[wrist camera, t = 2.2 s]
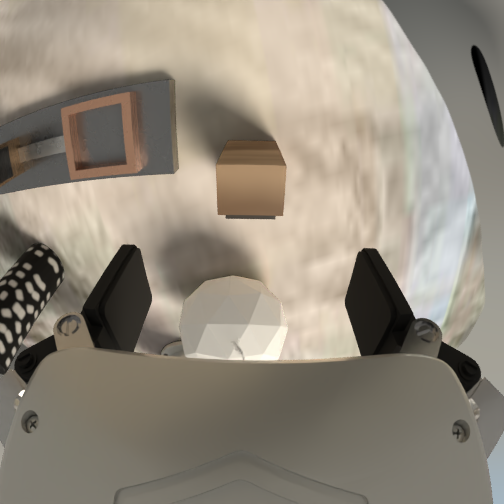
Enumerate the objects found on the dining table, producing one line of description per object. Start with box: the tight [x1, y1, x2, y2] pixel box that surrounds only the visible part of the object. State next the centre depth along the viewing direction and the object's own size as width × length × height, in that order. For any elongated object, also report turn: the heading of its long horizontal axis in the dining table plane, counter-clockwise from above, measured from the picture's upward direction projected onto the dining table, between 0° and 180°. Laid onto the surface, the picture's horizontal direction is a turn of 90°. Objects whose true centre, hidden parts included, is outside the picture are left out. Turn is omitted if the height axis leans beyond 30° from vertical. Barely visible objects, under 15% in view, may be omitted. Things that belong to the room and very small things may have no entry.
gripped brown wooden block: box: [216, 140, 286, 219], centre depth 25 cm, size 5×5×10 cm
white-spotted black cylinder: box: [0, 243, 64, 375], centre depth 28 cm, size 8×8×20 cm
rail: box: [0, 80, 179, 194], centre depth 21 cm, size 10×30×12 cm, turn 89°
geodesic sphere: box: [179, 275, 288, 360], centre depth 33 cm, size 14×14×14 cm
